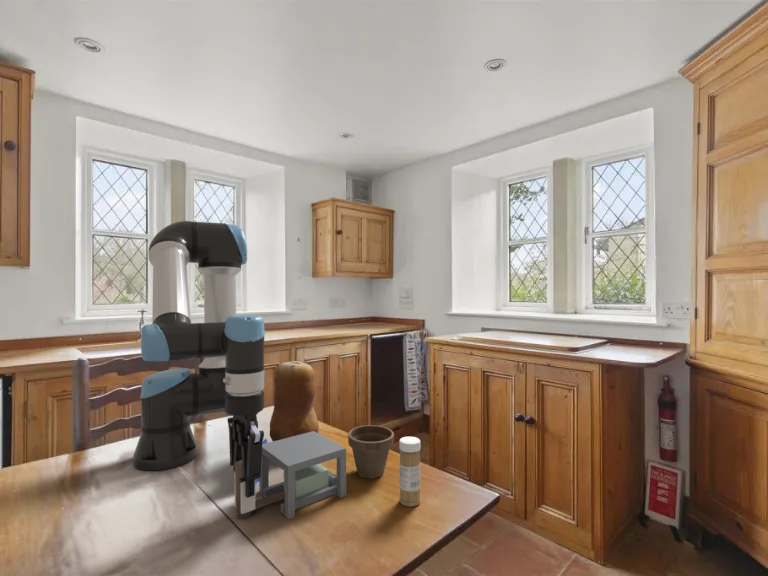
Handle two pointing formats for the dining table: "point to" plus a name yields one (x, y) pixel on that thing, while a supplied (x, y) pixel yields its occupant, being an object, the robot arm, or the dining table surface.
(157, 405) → the robot arm
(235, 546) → the dining table surface
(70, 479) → the dining table surface
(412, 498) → the sprinkles bottle
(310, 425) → the butternut squash
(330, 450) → the grey step stool
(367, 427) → the flower pot
